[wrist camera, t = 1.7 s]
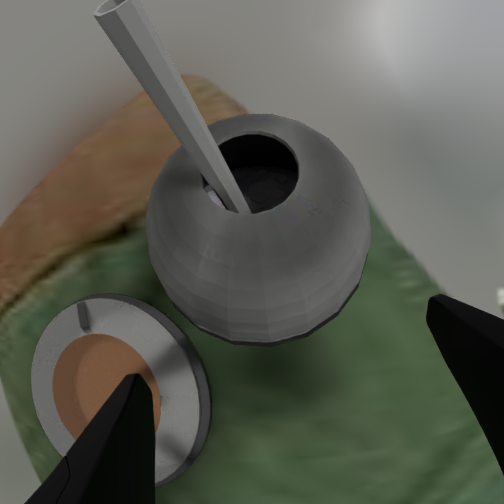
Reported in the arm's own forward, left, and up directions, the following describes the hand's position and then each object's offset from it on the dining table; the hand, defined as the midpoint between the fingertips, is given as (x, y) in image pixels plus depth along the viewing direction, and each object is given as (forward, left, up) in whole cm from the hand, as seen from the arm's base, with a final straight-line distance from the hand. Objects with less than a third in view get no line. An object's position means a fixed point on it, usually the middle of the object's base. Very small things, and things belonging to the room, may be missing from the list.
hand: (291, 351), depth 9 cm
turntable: (0, +13, -12) cm, 18 cm away
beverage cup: (+4, 0, -12) cm, 13 cm away
